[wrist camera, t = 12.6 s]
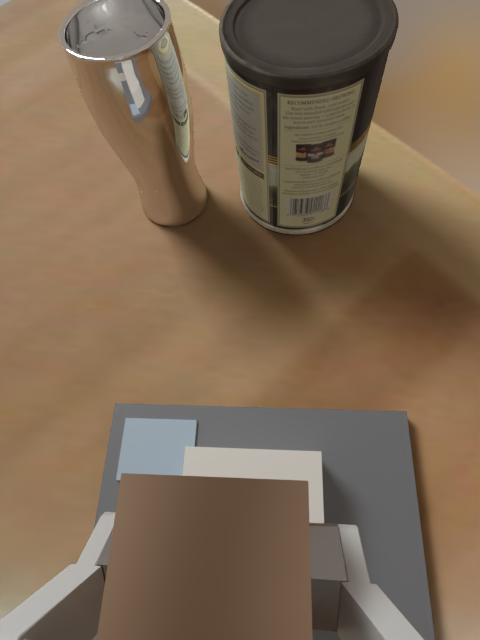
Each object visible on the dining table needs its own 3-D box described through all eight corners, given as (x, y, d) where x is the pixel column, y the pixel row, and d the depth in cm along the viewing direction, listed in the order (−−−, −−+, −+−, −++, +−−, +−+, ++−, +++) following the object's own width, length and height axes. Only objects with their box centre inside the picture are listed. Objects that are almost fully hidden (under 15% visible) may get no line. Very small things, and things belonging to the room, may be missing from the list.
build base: (81, 644, 23) (45, 672, 20) (120, 406, 29) (97, 394, 25) (433, 674, 21) (465, 711, 18) (402, 414, 27) (422, 402, 23)
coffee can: (307, 130, 38) (323, -52, 25) (378, 197, 34) (439, 22, 22) (217, 180, 37) (186, 12, 24) (281, 256, 33) (285, 104, 20)
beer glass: (142, 172, 38) (67, -9, 24) (214, 169, 37) (179, -18, 24) (133, 232, 35) (42, 66, 21) (210, 229, 34) (167, 58, 21)
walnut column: (183, 601, 14) (84, 717, 7) (193, 481, 16) (121, 473, 8) (295, 609, 14) (315, 740, 7) (293, 486, 15) (308, 480, 8)
